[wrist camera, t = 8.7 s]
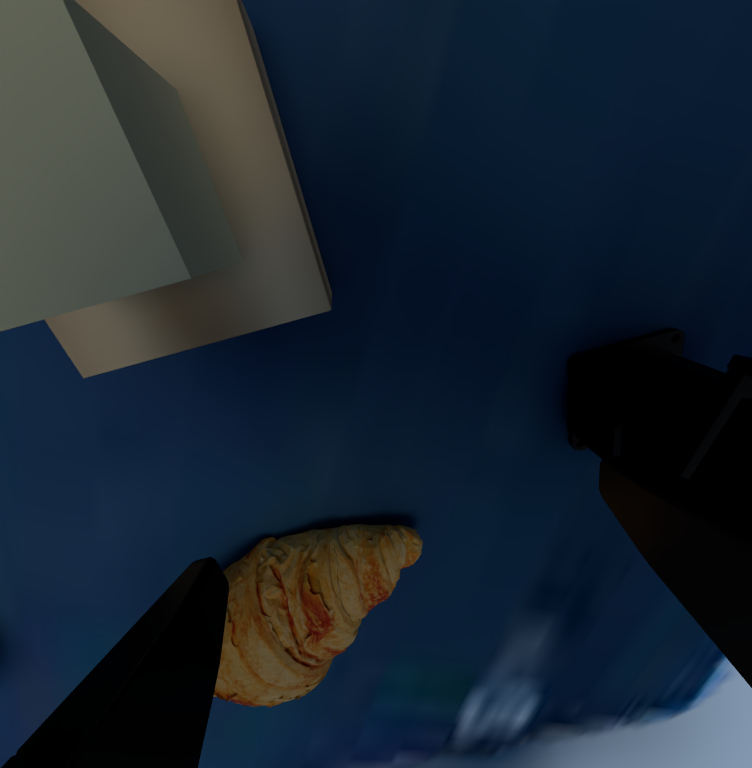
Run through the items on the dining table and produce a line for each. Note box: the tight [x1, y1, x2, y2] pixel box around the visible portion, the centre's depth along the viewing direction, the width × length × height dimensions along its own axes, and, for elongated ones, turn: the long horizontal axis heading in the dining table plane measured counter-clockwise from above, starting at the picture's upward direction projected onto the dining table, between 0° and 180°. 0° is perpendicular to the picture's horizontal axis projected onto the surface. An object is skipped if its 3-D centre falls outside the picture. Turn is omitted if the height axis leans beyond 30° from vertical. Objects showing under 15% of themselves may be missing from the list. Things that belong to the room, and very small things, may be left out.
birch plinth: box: [44, 0, 332, 378], centre depth 13 cm, size 10×10×4 cm
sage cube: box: [0, 0, 243, 331], centre depth 9 cm, size 5×5×5 cm
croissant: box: [213, 524, 423, 707], centre depth 23 cm, size 21×10×8 cm, turn 122°
